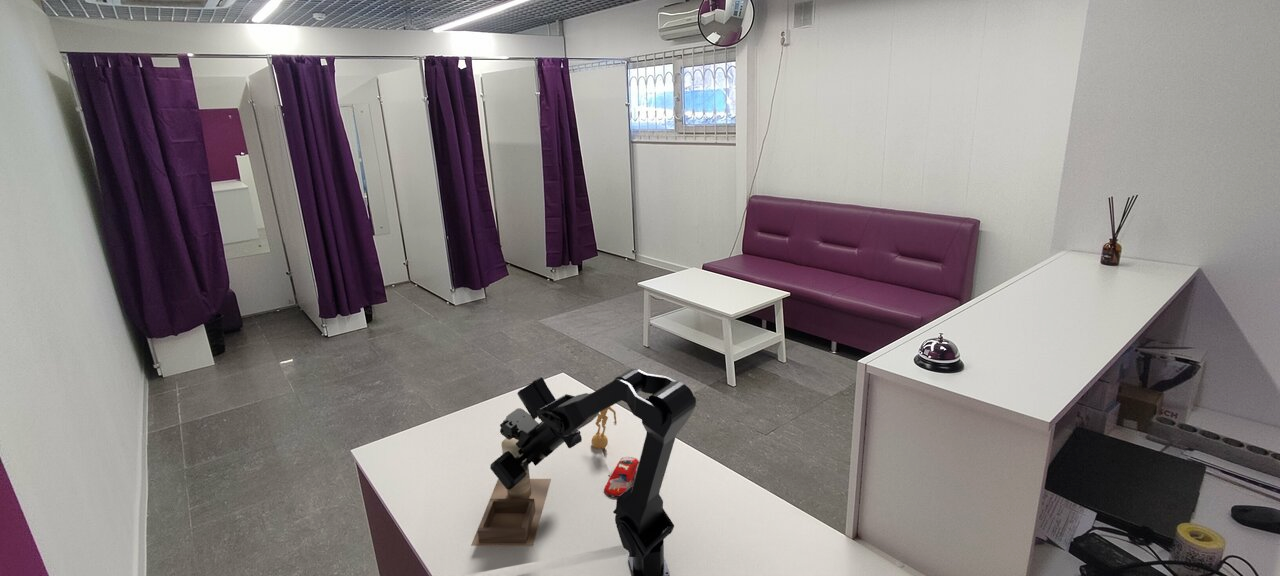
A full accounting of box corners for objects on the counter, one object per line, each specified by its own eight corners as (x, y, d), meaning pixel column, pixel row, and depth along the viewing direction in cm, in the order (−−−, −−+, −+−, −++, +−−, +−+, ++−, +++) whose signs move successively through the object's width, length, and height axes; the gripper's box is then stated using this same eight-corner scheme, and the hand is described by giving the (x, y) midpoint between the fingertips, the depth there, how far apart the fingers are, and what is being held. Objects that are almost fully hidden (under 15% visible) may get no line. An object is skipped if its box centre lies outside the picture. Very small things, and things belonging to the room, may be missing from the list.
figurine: (581, 447, 144) (578, 405, 140) (595, 435, 148) (592, 393, 145) (609, 457, 140) (607, 413, 136) (623, 444, 144) (621, 402, 140)
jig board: (533, 550, 112) (531, 532, 111) (471, 550, 113) (469, 532, 111) (551, 483, 131) (550, 467, 130) (498, 483, 132) (496, 467, 130)
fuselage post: (531, 499, 124) (526, 447, 120) (507, 503, 123) (501, 451, 119) (530, 484, 129) (525, 434, 125) (507, 488, 128) (501, 437, 124)
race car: (624, 506, 124) (623, 490, 122) (600, 501, 125) (599, 485, 124) (643, 468, 136) (643, 454, 134) (621, 464, 137) (621, 450, 136)
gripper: (551, 383, 124) (516, 416, 133) (492, 427, 109) (456, 461, 118) (585, 424, 123) (546, 455, 132) (529, 474, 108) (490, 505, 117)
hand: (511, 467), depth 125 cm, fingers closed on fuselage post, 5 cm apart
